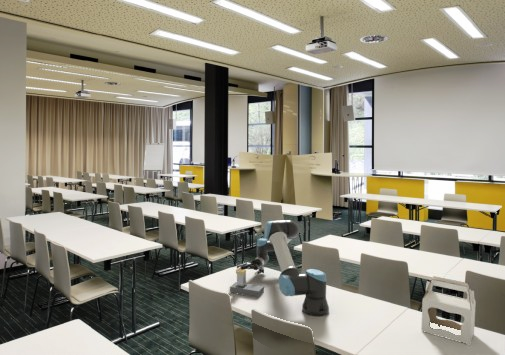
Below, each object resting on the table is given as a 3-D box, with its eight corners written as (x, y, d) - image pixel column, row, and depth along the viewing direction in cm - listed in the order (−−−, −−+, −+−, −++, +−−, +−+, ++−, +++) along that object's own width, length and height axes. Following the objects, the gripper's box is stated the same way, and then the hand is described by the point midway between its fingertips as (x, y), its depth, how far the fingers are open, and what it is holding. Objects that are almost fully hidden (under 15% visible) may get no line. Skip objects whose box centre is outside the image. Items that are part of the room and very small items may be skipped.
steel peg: (246, 290, 246) (246, 270, 245) (243, 293, 242) (243, 272, 241) (239, 289, 248) (239, 269, 247) (236, 292, 244) (236, 271, 243)
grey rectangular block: (263, 292, 244) (263, 286, 243) (258, 297, 236) (258, 291, 235) (236, 287, 251) (235, 282, 251) (230, 292, 243) (230, 286, 243)
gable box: (420, 331, 193) (422, 278, 191) (427, 321, 203) (429, 271, 201) (470, 345, 179) (473, 288, 177) (474, 334, 190) (477, 280, 187)
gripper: (273, 270, 266) (263, 280, 247) (241, 266, 276) (228, 275, 256) (273, 260, 266) (263, 269, 246) (241, 256, 275) (228, 265, 256)
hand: (245, 272), depth 251 cm, fingers open, 13 cm apart
